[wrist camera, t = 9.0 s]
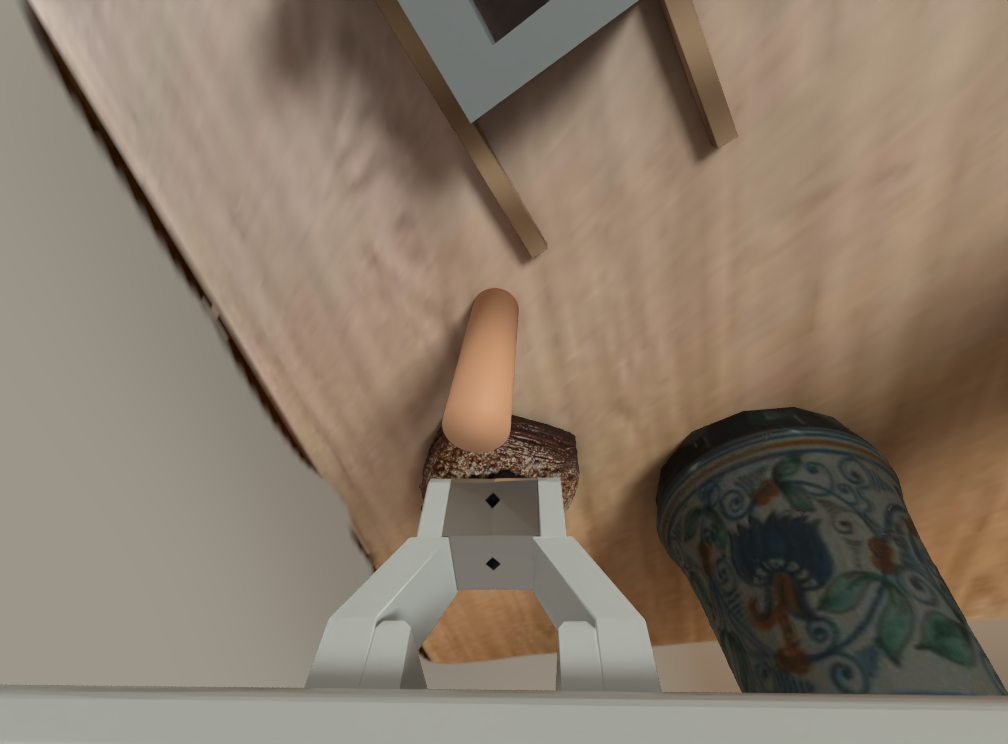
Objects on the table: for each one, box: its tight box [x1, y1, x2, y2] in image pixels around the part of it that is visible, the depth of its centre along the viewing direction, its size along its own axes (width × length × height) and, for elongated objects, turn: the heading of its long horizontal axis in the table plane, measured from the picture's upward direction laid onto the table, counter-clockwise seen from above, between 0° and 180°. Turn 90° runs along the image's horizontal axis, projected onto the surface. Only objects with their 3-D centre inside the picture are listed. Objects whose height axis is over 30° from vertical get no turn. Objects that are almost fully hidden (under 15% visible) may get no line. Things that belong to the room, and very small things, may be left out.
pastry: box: [419, 415, 579, 513], centre depth 36 cm, size 11×12×6 cm
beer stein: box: [656, 407, 1008, 696], centre depth 27 cm, size 16×19×25 cm
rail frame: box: [375, 0, 738, 258], centre depth 20 cm, size 18×14×6 cm
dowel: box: [442, 288, 519, 453], centre depth 25 cm, size 3×3×12 cm
